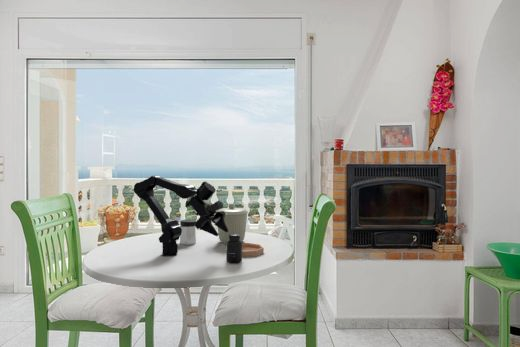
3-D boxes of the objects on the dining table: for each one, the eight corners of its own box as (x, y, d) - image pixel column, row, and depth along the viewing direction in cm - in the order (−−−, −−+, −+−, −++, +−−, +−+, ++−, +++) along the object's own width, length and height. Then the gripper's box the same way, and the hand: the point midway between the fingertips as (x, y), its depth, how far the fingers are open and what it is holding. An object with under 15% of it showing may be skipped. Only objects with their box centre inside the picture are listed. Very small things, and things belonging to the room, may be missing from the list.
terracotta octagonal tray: (230, 257, 165) (230, 252, 165) (224, 249, 181) (224, 244, 181) (266, 255, 169) (266, 250, 169) (257, 247, 185) (257, 242, 185)
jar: (183, 245, 189) (182, 222, 188) (177, 242, 195) (177, 220, 195) (199, 243, 194) (199, 221, 193) (193, 240, 200) (192, 218, 200)
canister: (222, 237, 209) (222, 200, 208) (252, 239, 204) (252, 201, 203) (209, 244, 191) (209, 204, 190) (242, 246, 186) (242, 205, 186)
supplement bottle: (227, 264, 154) (227, 236, 154) (225, 260, 161) (225, 233, 160) (243, 263, 156) (243, 235, 155) (240, 259, 162) (240, 232, 162)
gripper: (200, 197, 153) (224, 224, 149) (221, 193, 170) (243, 218, 166) (184, 214, 156) (207, 242, 152) (207, 209, 173) (228, 234, 169)
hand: (222, 233), depth 160 cm, fingers open, 9 cm apart
